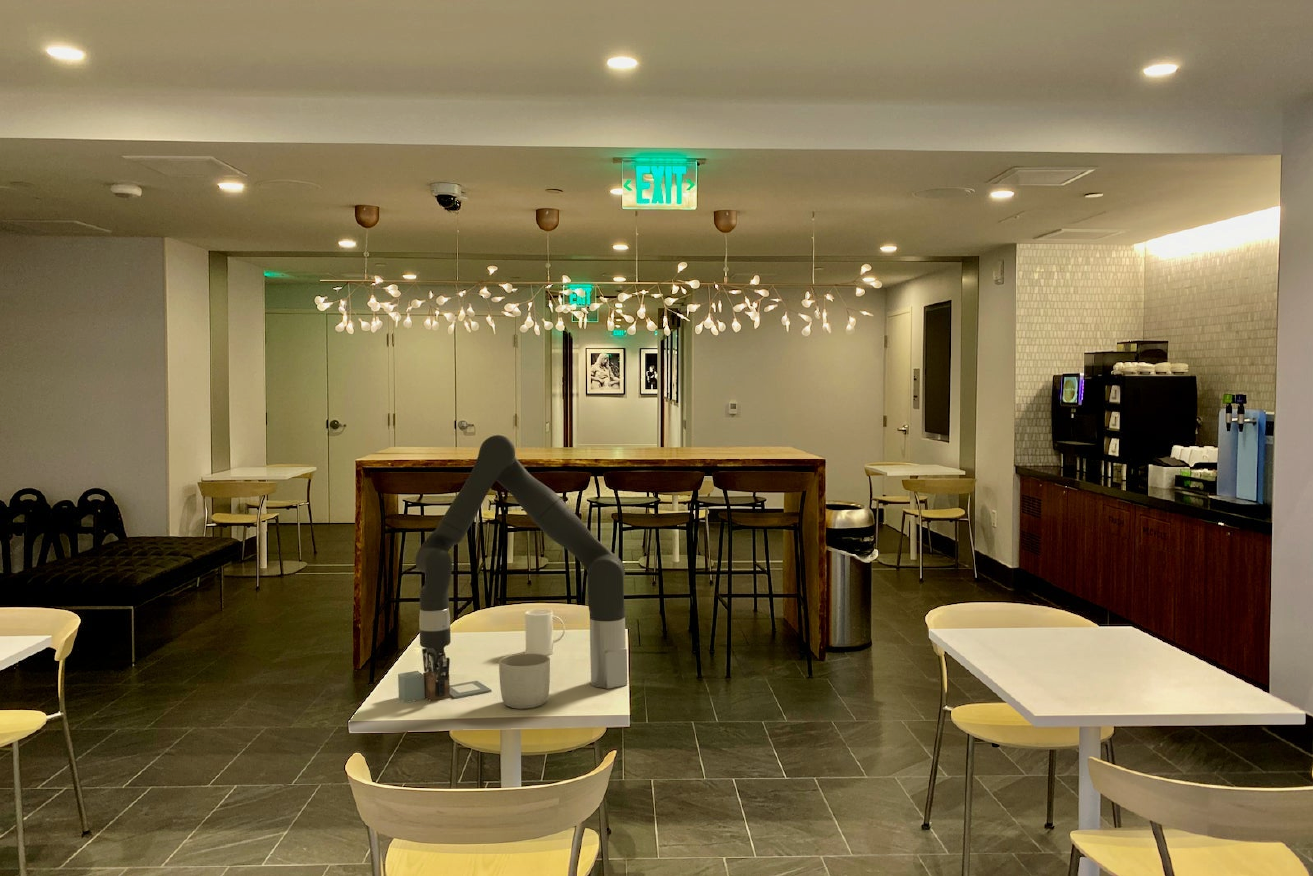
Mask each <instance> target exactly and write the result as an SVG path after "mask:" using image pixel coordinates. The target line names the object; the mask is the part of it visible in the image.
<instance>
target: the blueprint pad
mask: <svg viewBox="0 0 1313 876" xmlns="http://www.w3.org/2000/svg"><path fill="white" fill-rule="evenodd" d="M492 691H493V690H492V689H491V688H489V687H488V686H486V685H485V684H483V683H481V682H480V681H478V680H473V681H467V682H462V683H454V684H451V685H450V698H452V699H461V698H465V697H472V696H475V695H477V696H478V695H481V694H487V693H492Z"/></svg>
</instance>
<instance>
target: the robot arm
mask: <svg viewBox="0 0 1313 876" xmlns="http://www.w3.org/2000/svg"><path fill="white" fill-rule="evenodd" d="M478 450H479V452H478V455H477V458H476V460H475V463H474V465H473V468H472V469H471V472H470V474H469V476H468V477H467V479H466V481H465V483H464V484H463V485H462V488H461V489H460V491H459V492H458V494H456V497H455V498H454V499H453V501H452V503H450V505H449V507H448V508H447V511H446V512H445V514H443V517H442V518H441V520H440V522H439V524H438V525H437V527H436V528H435V530H433V531H432V533H431V534H430V535H429V536H428V537H427V538H426V539H425V541H424V542H423V543H422V544H421V545H420V547H419V549H418V550H417V553H416V555H415V557H414V558H415V560H414V561H415V567H416V568H417V569H418V571H419V572H421V573H424V575H425V578H424V585H423V586H422V587H421V588H420V592H419V609H420V610H419V618H418V620H419V621H418V622H419V645H420V646H421V648H422V650H421V652H422V661H423V662H422V663H423V671H424V672H423V673H425V672H431V671H432V673H434V676H435V687H436V696H437V697H441V696H444V695H445V681H446V680H448V679H449V680H450V661H451V659H450V657H447V654H446V652H445V647H447V646H449V645H450V644H451V641H452V640H451V615H450V608H449V607H450V604H449V603H450V600H449V588H450V585H451V579H452V571H453V561H452V557H451V555H450V553H449V551H450V550H451V548H453V547H454V546H455V545H458V544H460V543H461V542H462V541H463V539H464V538H465V535H466V534H467V533H468V530H469V529H470V527H471V526H472V524H473V522H474V521H475V518H476V517H477V514H478V513H479V511H480V509H481V506H482V504H483V503H484V501H485V499H486V496H487V495H488V494H489V491H491V489H492V487H493V485H494V484H495V482H497V483H498V484H500V485H501V486H502V487H503V488H504V489H505V490H506V491H508V493H509V494H510V495H511V496H512V497H513V498H514V499H515V501H516V503H518V505H519V506H520V507H521V508H522V510H523V511H524V512H525V513H526V514H527V515H528V517H529V518H530V519H531V520H532V521H533V522H534V523H535V524H536V525H537V526H538V528H539V529H540V530H541V531H542V532H543V533H544V534H545V535H546V536H547V537H548V538H550V539H551V540H552V541H554V542H555V543H556V544H557V545H559V546H560V547H562V548H564V549H565V550H567V551H568V552H569V553H570V554H572V556H574V557H575V558H576V559H577V560H578V562H579V563H580V564H581V565H582V567H584V569H585V570H586V571H587V600H588V601H587V603H588V604H587V605H588V611H589V612H588V613H589V645H590V646H589V649H590V651H589V654H590V655H589V656H590V685H592V686H594V687H597V688H603V689H607V690H608V689H614V688H618V687H623V686H627V685H628V649H627V648H626V608H625V607H626V606H625V597H624V591H625V590H624V586H625V585H624V579H625V575H626V568H625V565H624V562H623V561H622V560H621V559H620V557H618V556H617V555H616V554H615V553H613V552H612V551H611V550H610V549H609V548H607V547H606V546H605V544H603V543H602V542H600V541H599V540H598V539H597V538H596V537H595V536H594V535H593V534H592V532H591V531H590V530H589V529H588V528H587V526H586V525H585V524H584V522H583V521H582V520H581V519H580V518H579V517H578V516H577V514H576V513H575V512H574V511H573V510H572V508H571V507H570V506H569V505H568V504H567V503H566V502H565V501H564V500H563V499H562V498H561V496H559V495H558V494H557V493H556V492H555V491H554V490H552V488H550V487H548V486H546V485H545V484H544V483H543V482H541V481H539V480H538V479H537V478H535V477H534V476H533V475H532V474H530V472H528V470H527V469H526V467H524V465H522V463H521V462H520V461H519V459H518V458H517V457H516V448H515V445H514V444H513V441H511V439H510V438H509V437H506V436H504V435H500V434H496V435H492V436H489V437H487V438H486V439H485V440H484V441H483V442H482V443H481V445H480V447H479V449H478ZM441 673H442V676H441Z"/></svg>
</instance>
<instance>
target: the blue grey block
mask: <svg viewBox="0 0 1313 876" xmlns="http://www.w3.org/2000/svg"><path fill="white" fill-rule="evenodd" d="M397 685H398V686H397V687H398V699H400V700H401V701H402V700H403V703H409V701H410V702H414V701H413V700H416V701H420V700H425V699H426V698H425V694H424V675H423V673H421V672H420V671H418V670H412V671H409V672H408V671H407V672H403V673H402V672H401V673H398V674H397Z"/></svg>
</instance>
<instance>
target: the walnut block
mask: <svg viewBox="0 0 1313 876" xmlns="http://www.w3.org/2000/svg"><path fill="white" fill-rule="evenodd" d="M422 674H423V675H424V694H425V699H427V700H428V701H429V700H430V701H429V702H434V701H433V700H436V701H440V700H441V701H442V700H445V699H450V698H451V696H450V678H449V679H448V680H446V681H445V695H444V696H441V697H437V696H436V687H435V676H434V673H432V671H431V672H423V673H422ZM441 676H442V673H441Z"/></svg>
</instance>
